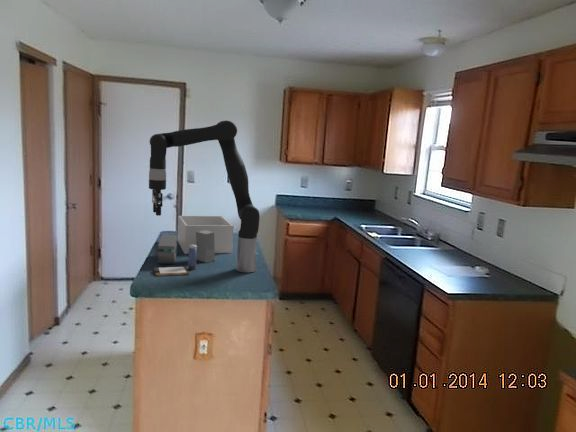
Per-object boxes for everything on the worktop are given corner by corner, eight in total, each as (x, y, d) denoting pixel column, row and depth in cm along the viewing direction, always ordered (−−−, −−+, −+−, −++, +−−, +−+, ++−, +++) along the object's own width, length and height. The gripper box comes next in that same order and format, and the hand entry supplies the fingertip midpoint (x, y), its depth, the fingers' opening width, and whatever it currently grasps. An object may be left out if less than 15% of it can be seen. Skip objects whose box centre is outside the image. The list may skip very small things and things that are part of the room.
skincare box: (214, 261, 238) (216, 232, 235) (203, 263, 232) (205, 233, 230) (205, 257, 243) (206, 229, 241) (194, 259, 238) (195, 230, 235)
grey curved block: (173, 267, 221) (174, 246, 220) (157, 267, 220) (157, 245, 218) (176, 254, 246) (177, 235, 244) (161, 254, 244) (162, 234, 242)
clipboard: (185, 268, 221) (185, 264, 221) (188, 275, 211) (188, 271, 211) (153, 269, 216) (154, 265, 215) (155, 276, 206) (155, 272, 205)
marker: (195, 267, 223) (196, 244, 221) (196, 270, 220) (197, 246, 218) (187, 268, 222) (188, 244, 220) (188, 270, 218) (189, 246, 216)
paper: (183, 267, 220) (183, 266, 220) (186, 272, 211) (186, 272, 211) (158, 268, 215) (158, 267, 215) (160, 273, 207) (160, 273, 207)
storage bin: (220, 240, 286) (221, 216, 284) (232, 252, 258) (233, 225, 255) (177, 241, 277) (178, 215, 274) (184, 253, 248) (185, 225, 245)
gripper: (168, 180, 198) (168, 216, 200) (163, 177, 210) (162, 211, 213) (151, 180, 195) (150, 216, 197) (146, 176, 207) (146, 211, 210)
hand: (156, 213), depth 205 cm, fingers open, 8 cm apart
